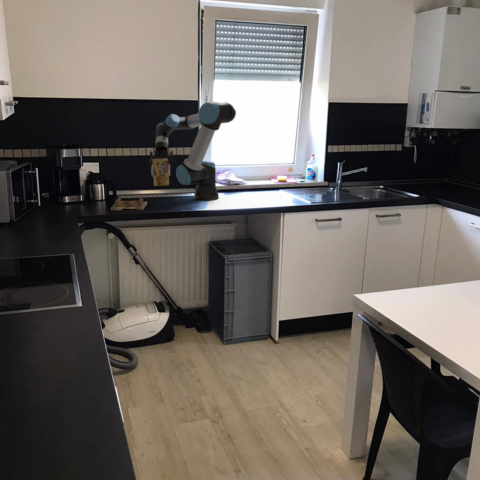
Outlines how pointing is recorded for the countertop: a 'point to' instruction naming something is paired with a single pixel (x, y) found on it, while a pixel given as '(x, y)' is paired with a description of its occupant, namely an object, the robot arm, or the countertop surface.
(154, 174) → the candy box
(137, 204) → the slot holder
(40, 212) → the countertop surface
